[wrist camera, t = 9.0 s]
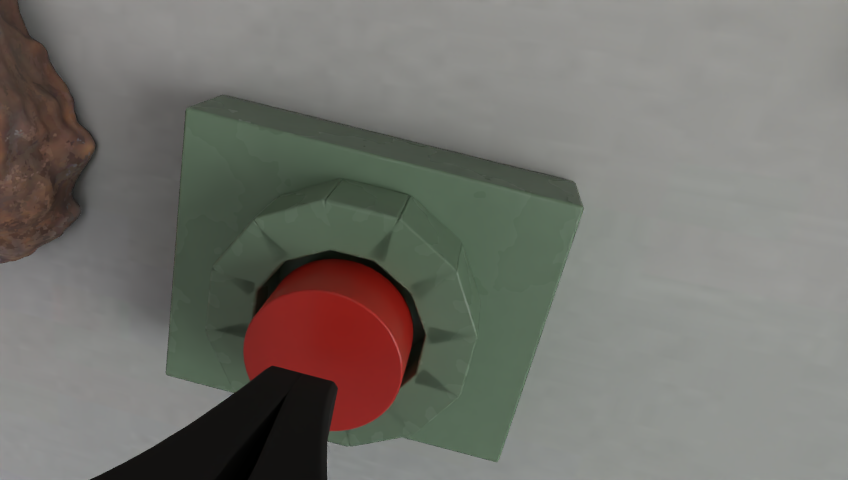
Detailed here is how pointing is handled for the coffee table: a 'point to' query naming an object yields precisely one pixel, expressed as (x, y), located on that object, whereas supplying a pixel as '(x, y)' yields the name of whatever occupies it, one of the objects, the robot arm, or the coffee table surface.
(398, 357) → the button
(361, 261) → the button block
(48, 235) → the pottery shard
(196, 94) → the coffee table surface
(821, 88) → the coffee table surface
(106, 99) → the coffee table surface
